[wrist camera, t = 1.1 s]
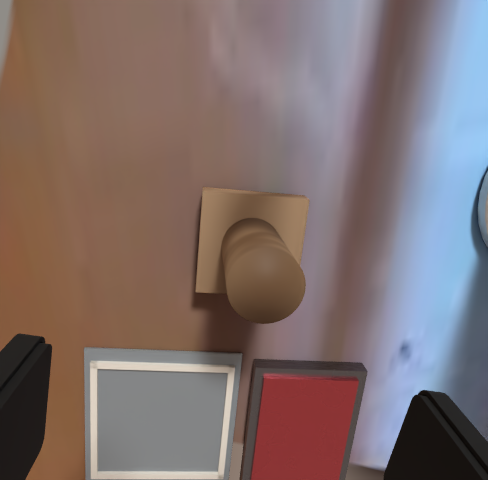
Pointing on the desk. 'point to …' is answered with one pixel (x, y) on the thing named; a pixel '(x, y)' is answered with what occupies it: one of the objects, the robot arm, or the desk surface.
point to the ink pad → (301, 419)
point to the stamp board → (159, 413)
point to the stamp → (253, 251)
